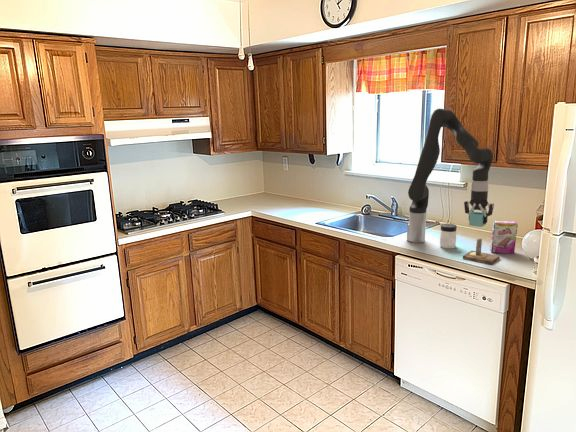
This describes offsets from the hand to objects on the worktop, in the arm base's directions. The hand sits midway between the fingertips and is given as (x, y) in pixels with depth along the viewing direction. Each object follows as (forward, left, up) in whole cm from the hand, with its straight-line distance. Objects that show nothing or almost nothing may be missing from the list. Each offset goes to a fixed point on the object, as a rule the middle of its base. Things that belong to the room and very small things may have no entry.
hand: (477, 222), depth 218 cm
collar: (0, 0, -1) cm, 1 cm away
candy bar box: (+7, +17, -19) cm, 27 cm away
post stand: (+3, 0, -18) cm, 19 cm away
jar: (-19, +9, -19) cm, 28 cm away
